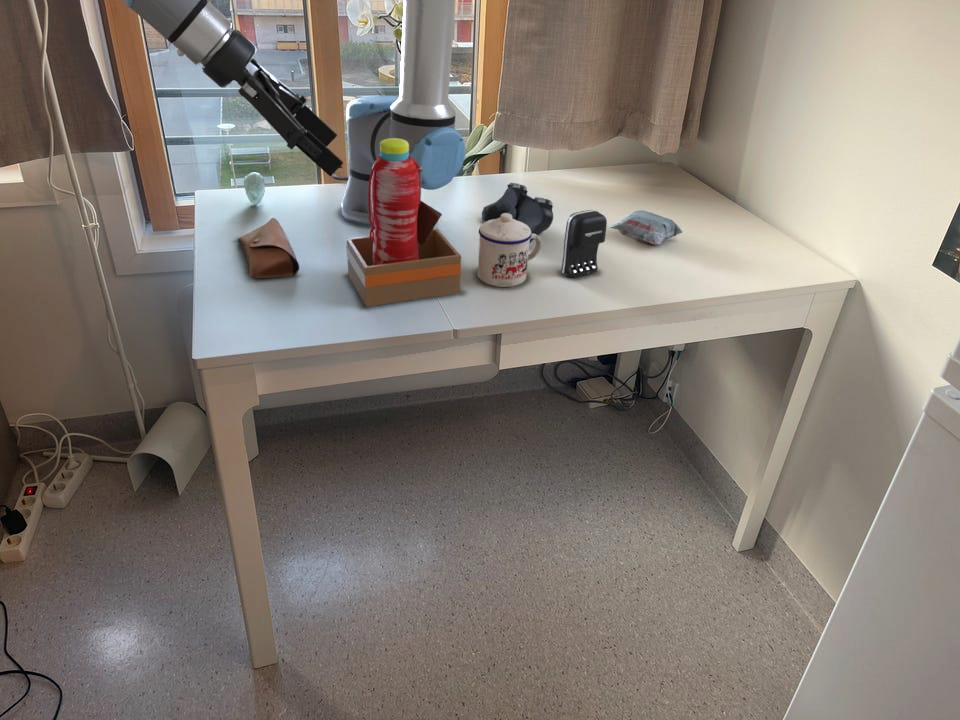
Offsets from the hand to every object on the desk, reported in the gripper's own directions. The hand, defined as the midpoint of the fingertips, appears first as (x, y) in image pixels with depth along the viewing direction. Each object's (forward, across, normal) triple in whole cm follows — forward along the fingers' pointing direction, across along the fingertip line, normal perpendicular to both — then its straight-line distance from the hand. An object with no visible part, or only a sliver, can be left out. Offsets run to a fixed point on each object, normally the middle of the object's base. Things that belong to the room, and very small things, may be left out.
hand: (334, 154), depth 114 cm
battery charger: (+46, -1, +14) cm, 49 cm away
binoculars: (+42, -21, +10) cm, 48 cm away
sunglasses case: (+8, -14, -25) cm, 29 cm away
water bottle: (+24, 0, -9) cm, 25 cm away
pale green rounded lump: (+6, -39, -26) cm, 48 cm away
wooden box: (+24, 0, -9) cm, 25 cm away
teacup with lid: (+37, -1, +5) cm, 37 cm away
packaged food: (+59, -14, +27) cm, 66 cm away
